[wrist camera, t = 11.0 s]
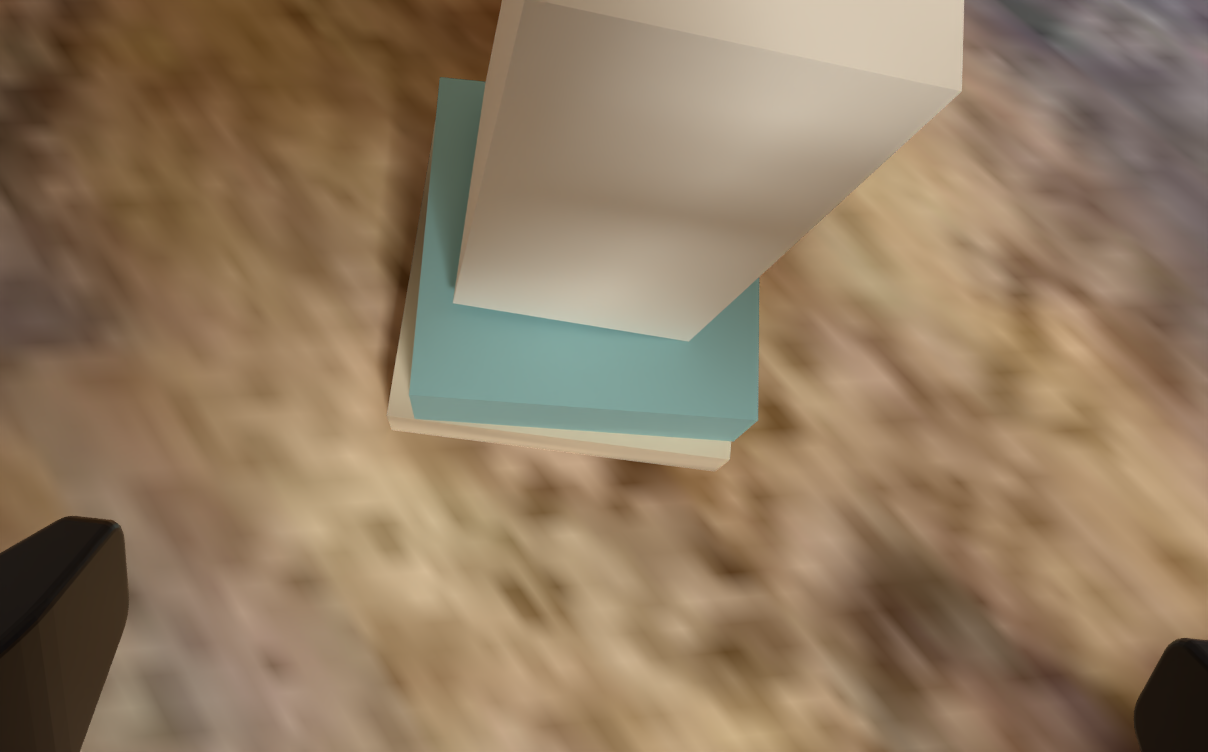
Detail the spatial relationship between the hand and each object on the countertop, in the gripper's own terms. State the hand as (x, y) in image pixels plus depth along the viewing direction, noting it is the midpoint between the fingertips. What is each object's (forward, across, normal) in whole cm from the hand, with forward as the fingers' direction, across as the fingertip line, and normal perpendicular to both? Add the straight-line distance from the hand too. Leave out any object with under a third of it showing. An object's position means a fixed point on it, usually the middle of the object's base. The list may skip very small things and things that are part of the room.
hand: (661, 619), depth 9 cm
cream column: (+13, 0, +1) cm, 13 cm away
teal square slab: (+14, 0, +3) cm, 14 cm away
